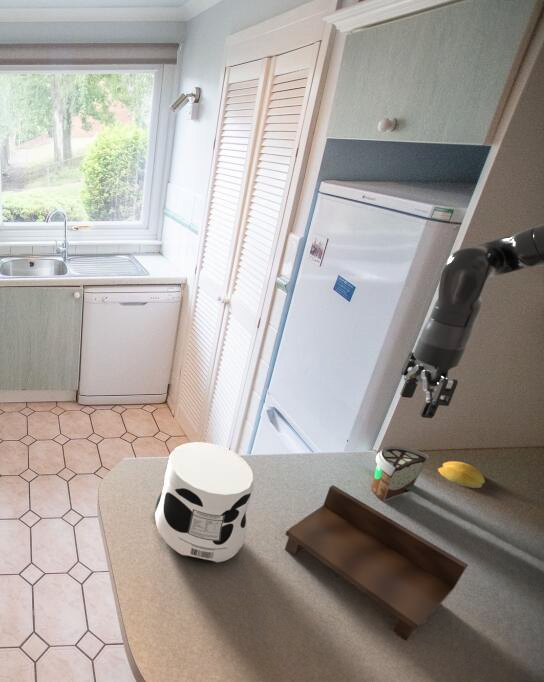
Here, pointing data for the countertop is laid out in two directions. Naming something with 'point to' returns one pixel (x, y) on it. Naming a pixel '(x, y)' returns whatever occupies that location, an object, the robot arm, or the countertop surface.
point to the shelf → (378, 558)
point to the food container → (396, 471)
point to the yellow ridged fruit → (462, 474)
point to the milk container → (204, 502)
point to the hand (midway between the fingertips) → (415, 406)
